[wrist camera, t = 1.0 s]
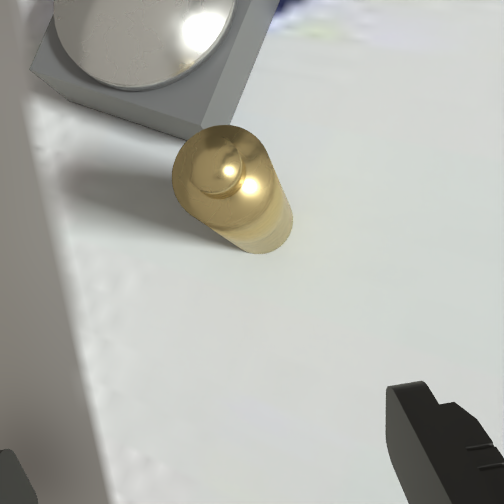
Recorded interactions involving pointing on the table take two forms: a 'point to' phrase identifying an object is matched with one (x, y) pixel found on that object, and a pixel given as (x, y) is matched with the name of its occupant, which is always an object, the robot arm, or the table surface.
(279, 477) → the table surface
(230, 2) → the scale platter
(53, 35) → the scale housing
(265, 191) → the calibration weight
